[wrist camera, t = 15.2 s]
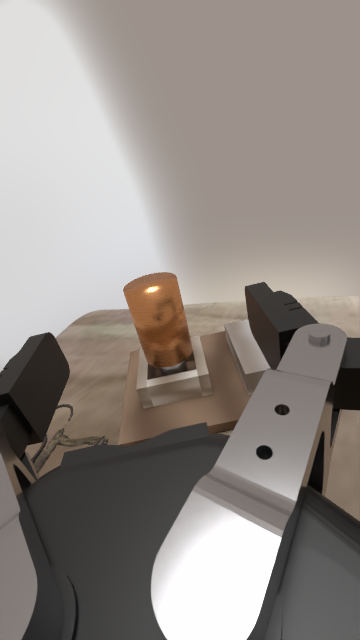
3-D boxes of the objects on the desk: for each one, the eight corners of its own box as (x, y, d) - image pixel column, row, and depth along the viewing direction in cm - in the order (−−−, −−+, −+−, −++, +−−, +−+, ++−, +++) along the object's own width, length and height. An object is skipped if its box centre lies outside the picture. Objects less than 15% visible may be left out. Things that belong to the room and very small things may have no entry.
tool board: (301, 321, 37) (301, 296, 35) (374, 400, 25) (379, 367, 23) (132, 358, 38) (124, 335, 36) (121, 452, 26) (108, 424, 24)
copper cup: (196, 360, 33) (175, 268, 28) (201, 389, 29) (178, 287, 24) (154, 369, 33) (126, 279, 28) (154, 399, 29) (120, 300, 24)
